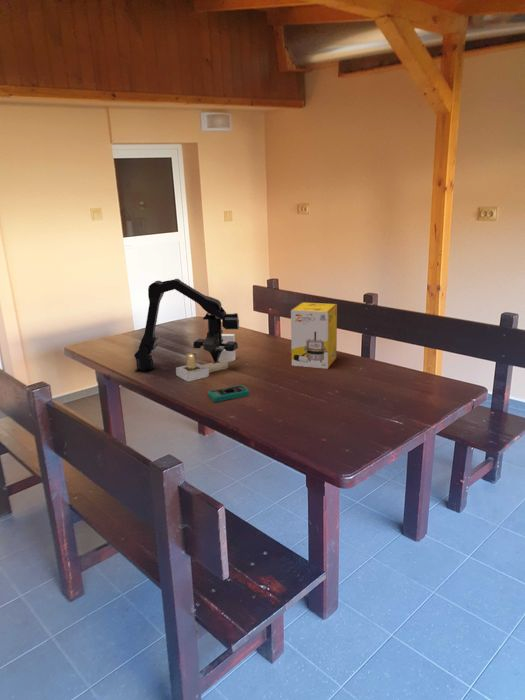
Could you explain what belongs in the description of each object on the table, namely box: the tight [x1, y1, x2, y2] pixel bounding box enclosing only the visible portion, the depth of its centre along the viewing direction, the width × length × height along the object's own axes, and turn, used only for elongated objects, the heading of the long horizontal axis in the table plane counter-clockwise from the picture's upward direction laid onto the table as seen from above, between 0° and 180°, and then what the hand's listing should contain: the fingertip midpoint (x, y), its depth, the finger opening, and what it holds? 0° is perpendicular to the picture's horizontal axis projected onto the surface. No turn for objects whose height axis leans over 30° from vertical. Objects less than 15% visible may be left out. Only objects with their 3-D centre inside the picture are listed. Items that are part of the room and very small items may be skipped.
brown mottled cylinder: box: [185, 352, 198, 371], centre depth 225 cm, size 4×4×10 cm
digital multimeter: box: [207, 384, 250, 403], centre depth 205 cm, size 7×15×3 cm, turn 115°
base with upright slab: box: [218, 333, 237, 363], centre depth 246 cm, size 9×9×12 cm
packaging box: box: [290, 302, 338, 370], centre depth 238 cm, size 16×16×25 cm
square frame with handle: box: [175, 359, 229, 382], centre depth 229 cm, size 10×22×4 cm, turn 125°
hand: (216, 363), depth 235 cm, fingers closed
